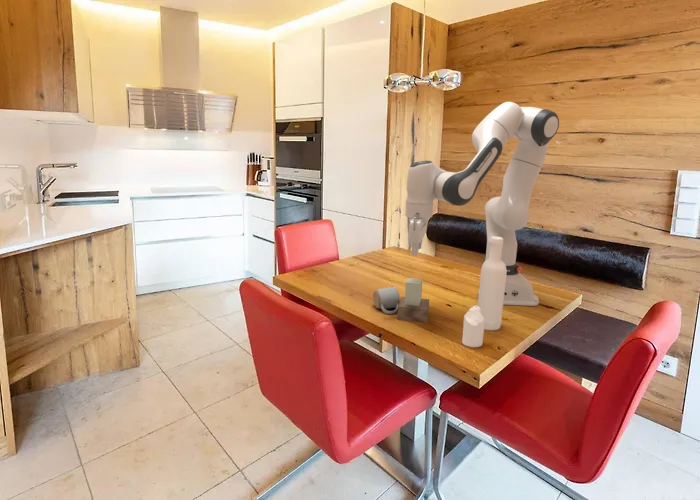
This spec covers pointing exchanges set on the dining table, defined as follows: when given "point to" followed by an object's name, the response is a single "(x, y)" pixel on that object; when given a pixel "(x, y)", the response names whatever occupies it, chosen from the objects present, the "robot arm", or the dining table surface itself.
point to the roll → (473, 327)
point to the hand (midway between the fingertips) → (416, 251)
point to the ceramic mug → (386, 299)
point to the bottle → (492, 286)
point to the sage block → (413, 292)
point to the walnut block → (413, 311)
